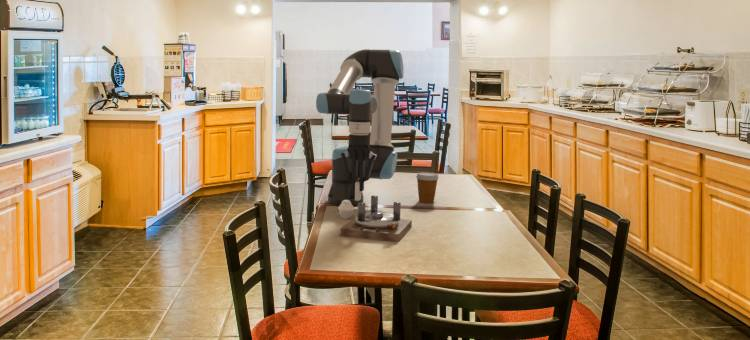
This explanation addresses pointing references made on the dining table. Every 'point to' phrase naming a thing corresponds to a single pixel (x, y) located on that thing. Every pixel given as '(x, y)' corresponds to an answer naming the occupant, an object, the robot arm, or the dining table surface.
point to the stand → (376, 231)
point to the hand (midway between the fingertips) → (357, 199)
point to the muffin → (346, 209)
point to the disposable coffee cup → (427, 186)
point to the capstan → (377, 216)
